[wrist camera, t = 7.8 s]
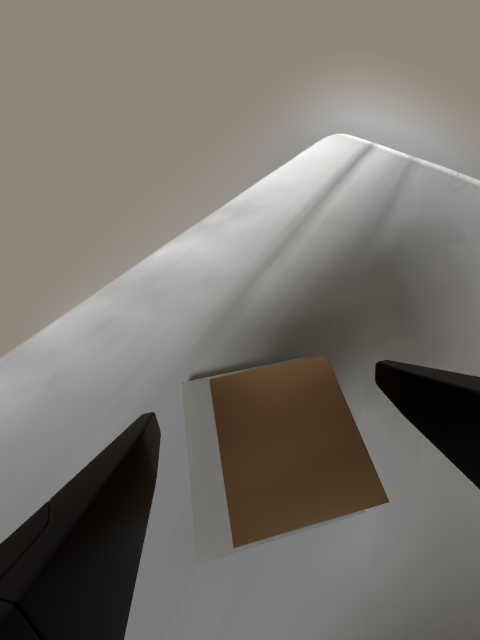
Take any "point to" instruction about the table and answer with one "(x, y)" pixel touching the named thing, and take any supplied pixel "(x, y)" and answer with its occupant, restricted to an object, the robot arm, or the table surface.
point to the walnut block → (289, 450)
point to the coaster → (214, 473)
